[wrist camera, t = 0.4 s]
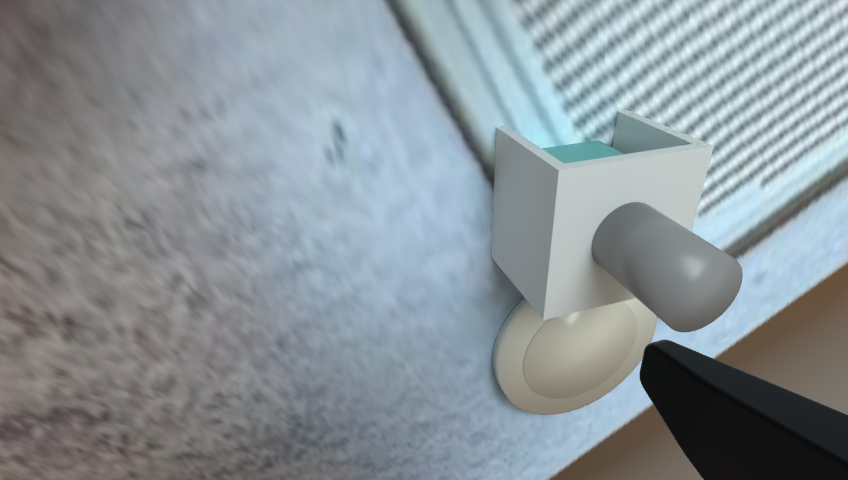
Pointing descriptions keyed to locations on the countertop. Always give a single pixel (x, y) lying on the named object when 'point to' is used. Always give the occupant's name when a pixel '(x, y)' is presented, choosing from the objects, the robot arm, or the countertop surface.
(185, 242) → the countertop surface
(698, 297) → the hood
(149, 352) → the countertop surface
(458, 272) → the countertop surface
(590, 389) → the saucer
